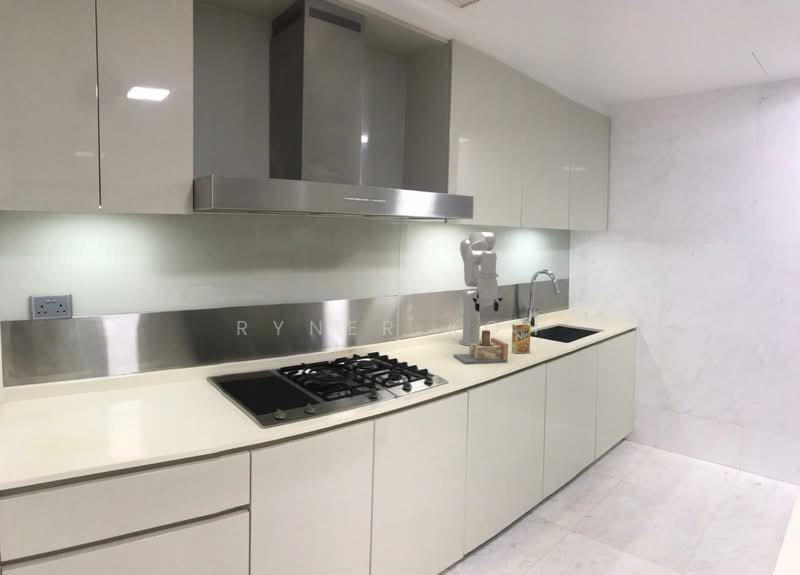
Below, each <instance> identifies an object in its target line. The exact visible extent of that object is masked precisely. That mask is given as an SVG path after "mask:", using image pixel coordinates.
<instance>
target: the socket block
mask: <svg viewBox="0 0 800 575" xmlns="http://www.w3.org/2000/svg"><path fill="white" fill-rule="evenodd" d="M468 354H469V355H471V356H472V357H474V358H476V359H477V360H496V359H501V357H502V347H500V346H498V345H496V344H494V343H492V342H491V341H490V346H482V343H470V346H469V353H468Z"/></svg>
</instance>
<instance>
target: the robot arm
mask: <svg viewBox="0 0 800 575" xmlns="http://www.w3.org/2000/svg"><path fill="white" fill-rule="evenodd" d="M496 242H497V240H496V235H495V233H494V232H491V231H473V232H471V233H470V234H469V236H468V238H467V239H463V240H462V241H460V245H459V250H460V256H461V258H462V260H463V275H464V276H463V279H464V284H465V286H466V287H470V288H468V289H465V290H464V291H463V292H462V294H461V297H462V305H463V306H462V307H463V308H462V309H463V314H462V316H463V317H462V318H463V319H462V339H461V340H459V344H460V345H463V346H467V347H468V346H469V347H470V343H482V340H480V335H481V334H480V329H481V328H480V327H481V313H480V306H482V307H489V306H492V305H493V311H494V312H499V311H498V310H499V306H500V305H499V304H500V302H501V301H502V300H503V298H504V296H505V294H504V293H502V292H501V291H499V287H498V280H497V278H498V277H499V274H497V273H496V272H497V253H496V251H493V249H494V248H495V246H496ZM493 303H494V304H493Z"/></svg>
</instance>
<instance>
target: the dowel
mask: <svg viewBox="0 0 800 575" xmlns="http://www.w3.org/2000/svg"><path fill="white" fill-rule="evenodd" d="M481 342H482V346H490V342H491V330H485V329H484V330H482V331H481Z"/></svg>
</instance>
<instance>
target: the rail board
mask: <svg viewBox="0 0 800 575" xmlns="http://www.w3.org/2000/svg"><path fill="white" fill-rule="evenodd" d="M490 342H492V343H494V344H496V345H498V346H500V347H502V357H501V359H496V360H477V359H476V358H474V357H472V356H471V355H469V353H459V354H457V353H456V354H453V358H455V359H456V360H458V361H459V362H461V363H462V364H463V365H478V364H479V365H480V364H482V365H483V364H504V363H505V364H507V363H508V359H509V358H508V356H509V344H508V343H507V342H504V341H503V340H501V339H498V338H495V337H490ZM506 362H507V363H506Z"/></svg>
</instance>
